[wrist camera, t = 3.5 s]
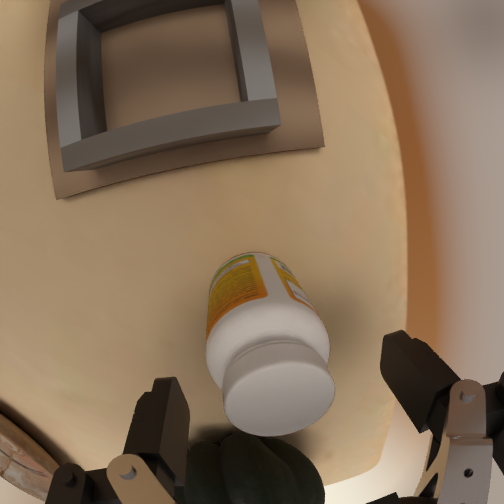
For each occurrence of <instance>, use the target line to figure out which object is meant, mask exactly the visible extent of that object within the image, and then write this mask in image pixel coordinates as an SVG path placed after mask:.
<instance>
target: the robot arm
mask: <svg viewBox="0 0 504 504" xmlns="http://www.w3.org/2000/svg"><path fill="white" fill-rule="evenodd" d="M380 370H381V374H382V377H383V379H384V380H385V382H386V383H387V385H388V386H389V388H390V389H391V391H392V392H393V394H394V395H395V397H396V398H397V400H398V401H399V403H400V404H401V406H402V407H403V409H404V410H405V412H406V413H407V415H408V416H409V418H410V419H411V421H412V422H413V424H414V426H415V427H416V429H417V430H418V432H419V433H422V432H424V431H426V430H428V429H430V431H431V432H432V435H431V437H430V442H429V447H428V452H427V456H426V461H425V465H424V469H423V473H422V477H421V479H420V482H419V484H418V486H417V488H416V491H415V493H414V496H411V497H401V498H398V495H397V493H396V492H395V493H392V494H390V495H387V496H385V497H382V498H380V499H377V500H375V501H372V502H369V503H366V504H487V499H488V493H489V486H490V478H491V467H492V457H493V458H494V460H495V461H496V463H497V465H498V466H499V468H500V469H501V471H502V473H503V475H504V372H503V373H502V375H501V377H500V379H499V381H498V382H495V383H491V384H487V385H483V386H482V385H481V384H480V383H478V382H477V381H474V380H470V379H464V380H461V379H460V378H459V377H458V376H457V375H456V374H455V373H454V372H453V370H452V369H451V368H450V367H449V366H448V365H447V364H446V363H445V362H444V361H443V360H442V359H441V358H439V356H438V355H437V354H436V353H435V352H433V350H432V349H431V348H430V347H429V346H428V344H427V343H425V342H423V341H421V340H419V339H417V338H414V339H411V338H410V337H409V336H408V334H407V333H406V332H405V331H403V330H399V331H396V332H393V333H390V334H387V335H385V336H384V337H383V343H382V353H381V361H380ZM134 412H135V414H133V418H132V422H131V425H130V429H129V432H128V436H127V440H126V443H125V447H124V451H123V454H122V455H120V456H118V457H116V458H114V459H113V460H112V461H111V462H110V463H109V465H108V467H107V468H104V469H98V470H91V471H84V470H83V469H82V468H81V467H80V466H79V465H77V464H74V463H67V464H64V465H62V466H60V467H59V468H58V469H57V470H56V471H55V472H54V475H53V478H52V481H51V484H50V488H49V491H48V495H47V498H46V502H45V504H181V503H180V501H179V500H178V499H177V498H176V497H175V496H174V489H175V486H185V473H186V459H187V446H188V434H189V423H190V411H189V407H188V403H187V401H186V399H185V397H184V394H183V392H182V390H181V387H180V385H179V383H178V380H177V378H176V377H165V378H156V379H155V381H154V384H153V388H152V392H145V393H144V394H143V395H142V396H141V397H140V399H139V400H138V401H137V404H136V408H135V411H134Z"/></svg>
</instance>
